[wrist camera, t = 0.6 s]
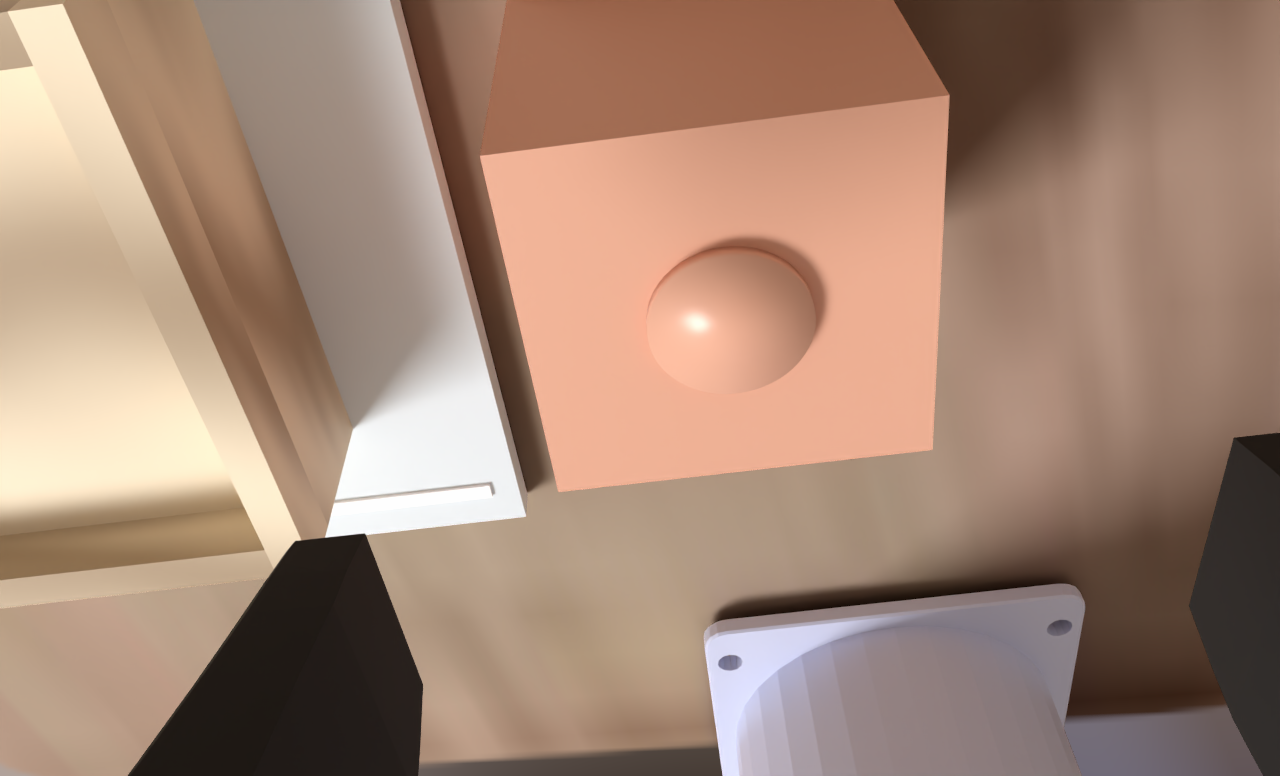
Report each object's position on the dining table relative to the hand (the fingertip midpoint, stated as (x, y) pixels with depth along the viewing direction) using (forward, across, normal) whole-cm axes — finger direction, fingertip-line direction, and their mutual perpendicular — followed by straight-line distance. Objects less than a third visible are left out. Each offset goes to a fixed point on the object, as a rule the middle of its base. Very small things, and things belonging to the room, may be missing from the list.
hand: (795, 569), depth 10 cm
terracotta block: (+10, 0, 0) cm, 10 cm away
